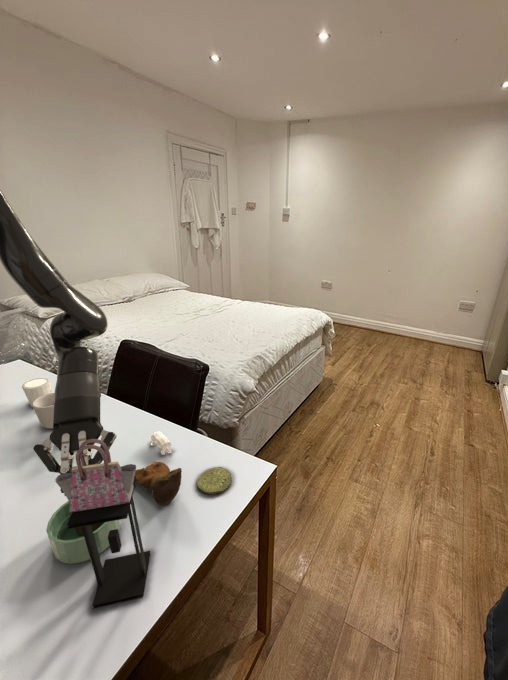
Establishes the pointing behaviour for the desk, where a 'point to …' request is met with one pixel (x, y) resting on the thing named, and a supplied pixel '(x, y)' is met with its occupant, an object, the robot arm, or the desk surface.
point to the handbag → (103, 506)
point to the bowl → (75, 537)
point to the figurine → (161, 442)
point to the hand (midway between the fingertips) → (76, 493)
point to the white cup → (36, 388)
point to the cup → (45, 409)
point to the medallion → (214, 480)
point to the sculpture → (160, 481)
